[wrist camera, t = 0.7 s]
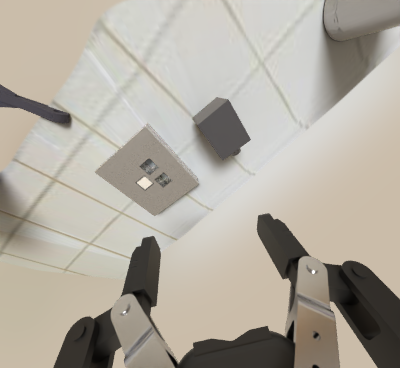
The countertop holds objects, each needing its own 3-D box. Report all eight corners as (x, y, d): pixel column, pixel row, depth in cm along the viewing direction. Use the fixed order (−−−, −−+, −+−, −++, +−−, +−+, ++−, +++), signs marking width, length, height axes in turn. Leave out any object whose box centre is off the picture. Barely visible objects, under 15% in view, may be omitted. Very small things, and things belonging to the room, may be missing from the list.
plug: (213, 96, 27) (228, 99, 20) (236, 133, 30) (254, 146, 24) (190, 116, 28) (197, 125, 21) (215, 149, 31) (227, 166, 25)
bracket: (70, 157, 29) (62, 163, 26) (-46, 127, 24) (-69, 131, 21) (74, 66, 23) (62, 63, 20) (-81, 1, 18) (-120, -12, 15)
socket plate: (147, 122, 27) (145, 126, 25) (196, 176, 34) (198, 184, 31) (101, 165, 30) (94, 172, 27) (155, 207, 36) (154, 216, 34)
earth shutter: (145, 174, 30) (144, 176, 29) (153, 181, 30) (152, 183, 30) (137, 180, 30) (136, 182, 29) (145, 187, 31) (145, 189, 30)
